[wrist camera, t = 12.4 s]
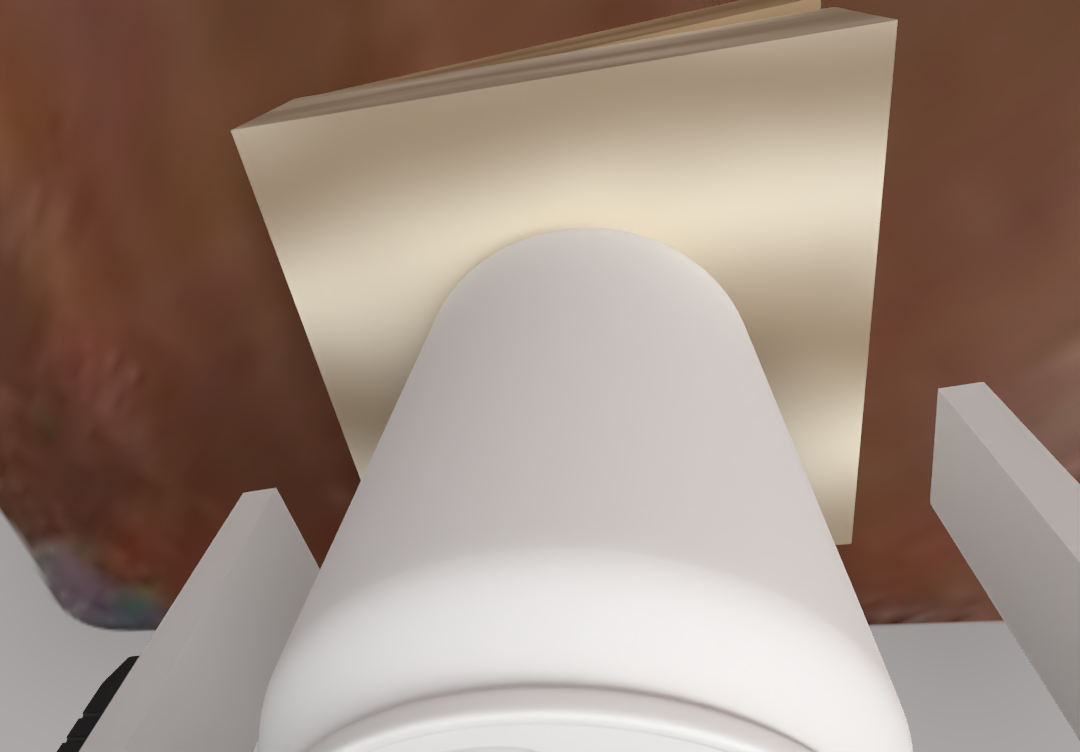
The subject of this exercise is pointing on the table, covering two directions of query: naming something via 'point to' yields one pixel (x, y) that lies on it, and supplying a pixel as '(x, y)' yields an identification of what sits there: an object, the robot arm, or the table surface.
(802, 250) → the top slab
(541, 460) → the beverage can
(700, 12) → the bottom slab
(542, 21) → the table surface
